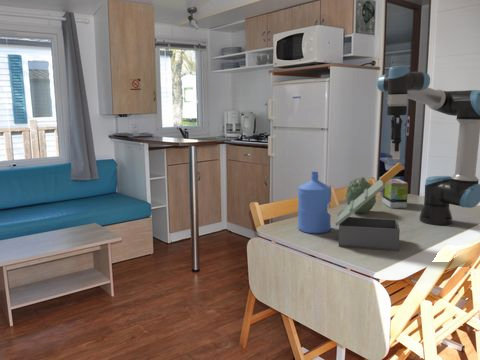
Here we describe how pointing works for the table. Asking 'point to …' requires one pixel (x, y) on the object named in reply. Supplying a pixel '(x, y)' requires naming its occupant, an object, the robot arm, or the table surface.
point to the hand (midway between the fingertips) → (394, 157)
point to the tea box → (395, 193)
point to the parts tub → (369, 233)
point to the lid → (368, 194)
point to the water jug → (314, 206)
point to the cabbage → (359, 193)
